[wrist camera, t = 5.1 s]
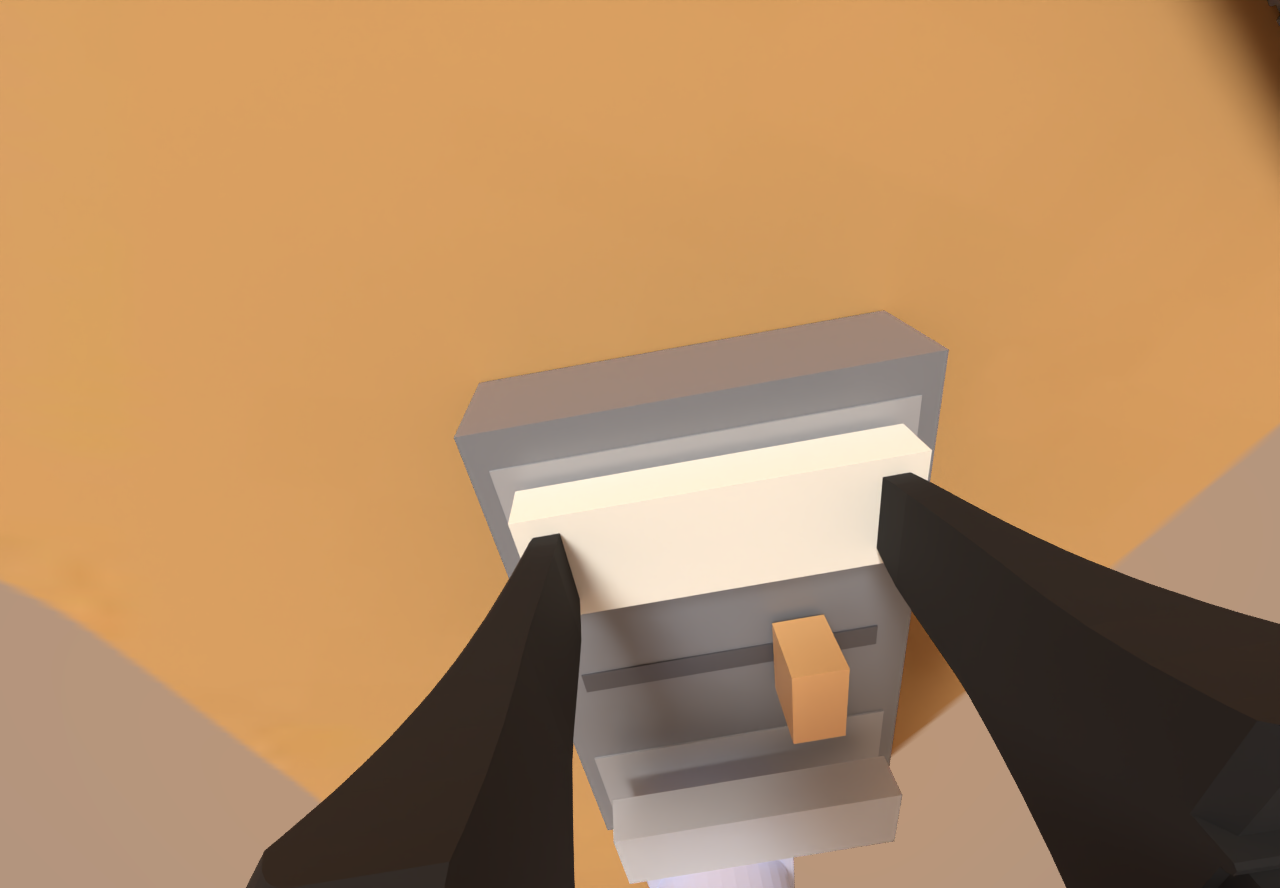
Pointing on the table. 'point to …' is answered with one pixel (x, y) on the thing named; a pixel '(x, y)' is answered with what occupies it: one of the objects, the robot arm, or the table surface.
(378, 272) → the table surface
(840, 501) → the cream bar
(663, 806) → the grey bar
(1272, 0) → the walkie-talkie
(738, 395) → the panel
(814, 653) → the orange rectangular block
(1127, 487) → the table surface
